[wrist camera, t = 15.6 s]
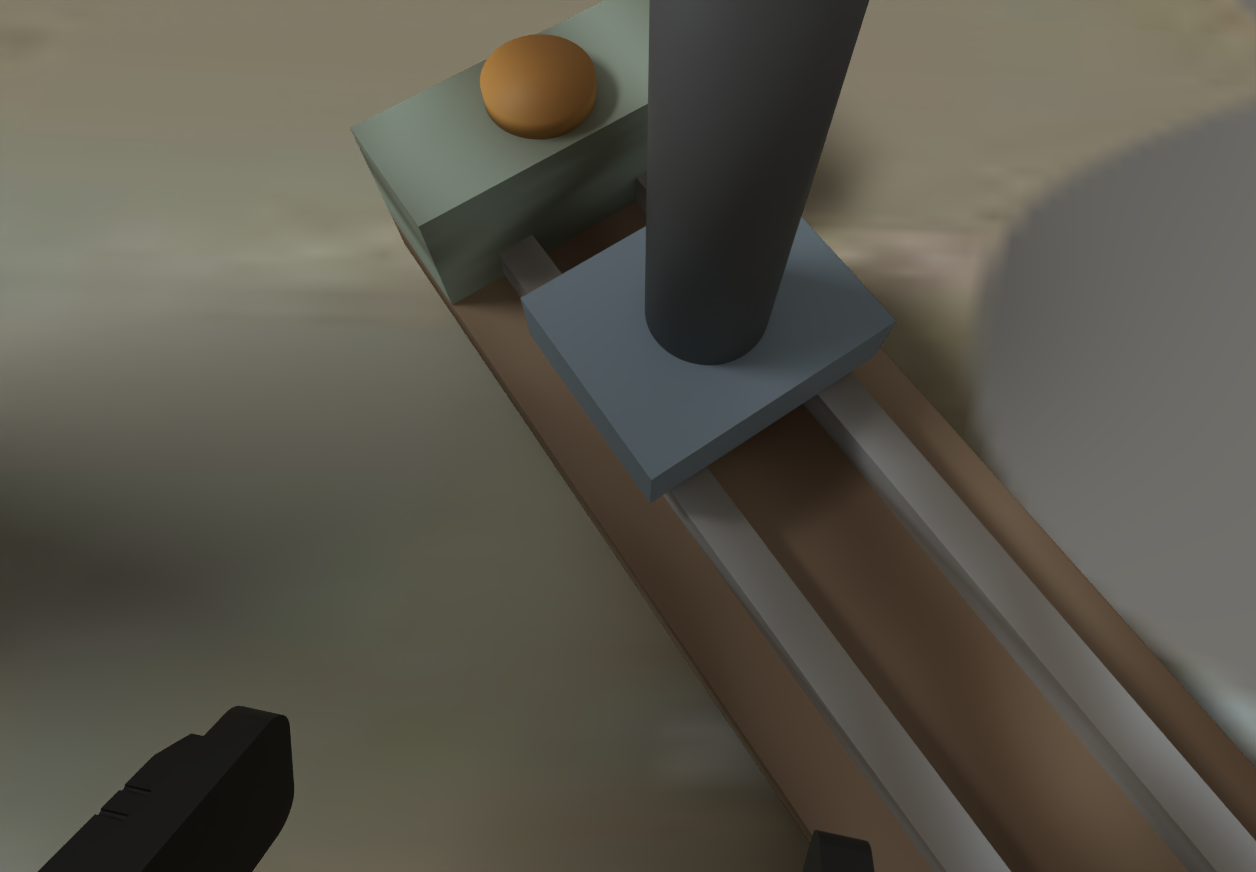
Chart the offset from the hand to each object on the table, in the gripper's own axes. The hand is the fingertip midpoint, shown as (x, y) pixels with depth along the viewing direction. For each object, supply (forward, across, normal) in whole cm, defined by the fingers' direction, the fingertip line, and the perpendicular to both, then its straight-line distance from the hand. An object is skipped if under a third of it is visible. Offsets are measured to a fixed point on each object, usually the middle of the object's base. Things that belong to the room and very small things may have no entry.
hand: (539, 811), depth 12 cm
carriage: (+13, +1, +4) cm, 14 cm away
